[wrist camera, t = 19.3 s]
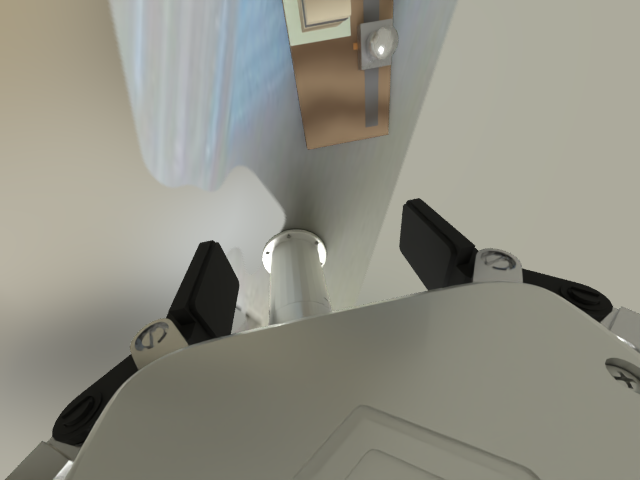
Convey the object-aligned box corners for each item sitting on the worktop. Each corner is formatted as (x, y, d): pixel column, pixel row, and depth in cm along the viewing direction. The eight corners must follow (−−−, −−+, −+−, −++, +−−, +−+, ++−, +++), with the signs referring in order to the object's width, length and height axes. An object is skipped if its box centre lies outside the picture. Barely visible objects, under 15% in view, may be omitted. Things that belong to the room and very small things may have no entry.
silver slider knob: (386, 65, 28) (401, 63, 25) (358, 70, 28) (369, 69, 24) (388, 20, 26) (404, 12, 22) (357, 26, 25) (368, 18, 22)
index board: (384, 132, 34) (388, 134, 33) (306, 147, 34) (307, 149, 33) (390, -85, 22) (397, -95, 21) (270, -67, 22) (270, -76, 21)
